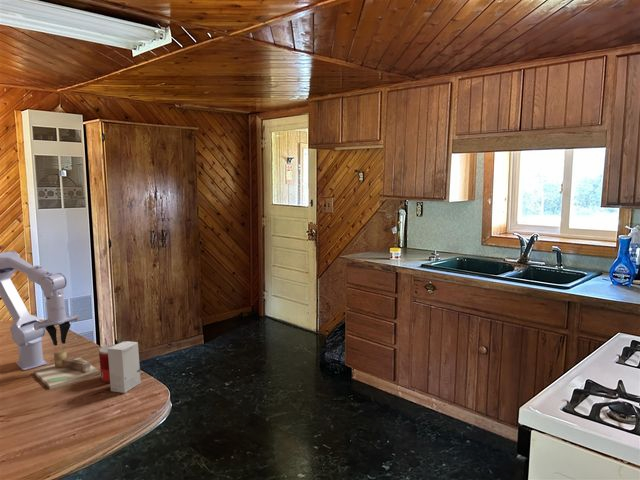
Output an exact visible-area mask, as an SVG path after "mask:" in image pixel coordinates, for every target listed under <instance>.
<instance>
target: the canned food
mask: <svg viewBox="0 0 640 480" xmlns="http://www.w3.org/2000/svg"><path fill="white" fill-rule="evenodd" d="M116 344H117V343H116ZM116 344H108V345H107V344H106V345H104V346H102V347H101V348H99V349H98V350H99V351H98V357H99V367H100V370H99V371H100V377H101V378H100V379H101V381H102V382H104V383H109V384H110V372H109V359H108V348H111V347H113V346H115V345H116Z"/></svg>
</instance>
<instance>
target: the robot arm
mask: <svg viewBox="0 0 640 480" xmlns="http://www.w3.org/2000/svg"><path fill="white" fill-rule="evenodd" d="M16 271H18V272H21V273H23V274H25V275H26V277H27V279H28V280H30V281H31V282H34V283H35V284H37V285H39V286H40V289H41V290H42V291H43V292H42V293H43V296H44V297H45V303H46V314H47V319H46V320H42V321H41V320H40V319H39V317H38V316H36V315H32V314H30V313H29V310H28V309H27V307H26V304H25V303H24V301H23V299H22V298H21V296H20V293H19V292H18V290H17V288H16V286H15V285H14V283H13V281H12V279H11V278H12V276H13V275H14V273H15V272H16ZM67 285H68V282H67V278H66V276H65V275H64V274H62V272H57V273H56V272H52V271H51V270H48V269H47V268H45V267H43V265H41V264H39V265H32V264H31V263H30V262H27V261H26V260H25V259H23V258H22V257H21V255H20V253H18V252H16V251H15V250H8V251H3V252H0V298H1V299H2V301H3V304H4V306H5V307H6V309H7V311H8V313H9V315H10V317H11V318H12V320H13V322H12V324H11V326H10V328H9V331H10V332H11V339H12V341H13V342H14V344H16V345H17V352H18V353H17V354H18V361H16V365H17V366H18V367H19V368H20V369H21V370H22V371H27V370H31V369H34V368H38V367H42V366H44V365H47V364H48V362H47V361H46V360H45V359H44V352H43V343H42V341H43V340H44V337H45V335H46V333H48V334H49V336H50V338H51V340H52V343H53V345H54V346H58V340H57V339H58V338H57V332H58V331H57V329H58V328H56V326H57V325H58V327H59V331H60V332H59V333H60V342H61V343H62V344H63V345H64V344H66V339H67V335H68V332H69V330H70V328H71V322H78V321H80V320H81V318H80V315H79V314H72V315H66V314H67V313H66V303H65V301H66V300H65V292H64V291H65V290H64V289H65V288H66V287H67Z"/></svg>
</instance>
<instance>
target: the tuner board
mask: <svg viewBox="0 0 640 480" xmlns="http://www.w3.org/2000/svg"><path fill="white" fill-rule="evenodd" d="M73 359H74V360H79V361H84V362H87V360H85V359H84V358H82V357H81V356H80V357H77V358H73ZM90 369H91V370H90V371H88V372H86V373H84V374H83V373H79V372H81V371H79V370H74V369H69V368H64V367H62V368H56V367H55V363H54V364H50V365H47V366H43V367H40V368H37V369H34V370H33V374H34V375H35V376H36V377H37V378H38V379H39V380H40V381H41V382H42V383H43V384H44V385H45V386H46V387H47V388H48V389H49V390H53V389H56V388H59V387H62V386H66V385H69V384H72V383H76V382H78V381H82V380H85V379H88V378H91V377H94V376H98V375H101V371H100V370H99V369H97V368H96V367H95V366H94V365H92V364H91V363H90ZM64 376H67V380H62V381H56V382H50V380H51V379H52V378H58V377H64Z"/></svg>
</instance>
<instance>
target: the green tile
mask: <svg viewBox="0 0 640 480" xmlns="http://www.w3.org/2000/svg"><path fill="white" fill-rule="evenodd" d="M62 380H67V376H64V377H58V378H52V379H51V380H50V382H56V381H62Z"/></svg>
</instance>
